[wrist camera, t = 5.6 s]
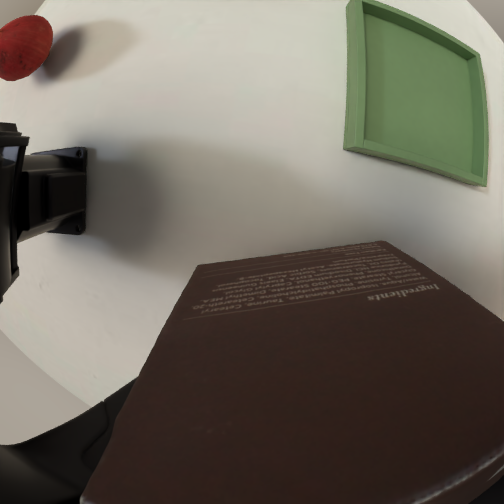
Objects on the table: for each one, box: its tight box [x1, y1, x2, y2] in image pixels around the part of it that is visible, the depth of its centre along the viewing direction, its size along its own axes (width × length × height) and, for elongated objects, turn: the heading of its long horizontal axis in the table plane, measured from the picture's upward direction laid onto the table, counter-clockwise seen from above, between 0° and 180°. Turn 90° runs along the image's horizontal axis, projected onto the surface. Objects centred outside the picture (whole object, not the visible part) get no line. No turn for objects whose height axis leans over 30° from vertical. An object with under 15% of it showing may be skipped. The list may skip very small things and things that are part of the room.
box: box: [80, 241, 504, 504], centre depth 5 cm, size 6×6×7 cm
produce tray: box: [343, 0, 489, 187], centre depth 13 cm, size 12×12×2 cm
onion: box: [0, 15, 53, 81], centre depth 9 cm, size 6×6×8 cm
